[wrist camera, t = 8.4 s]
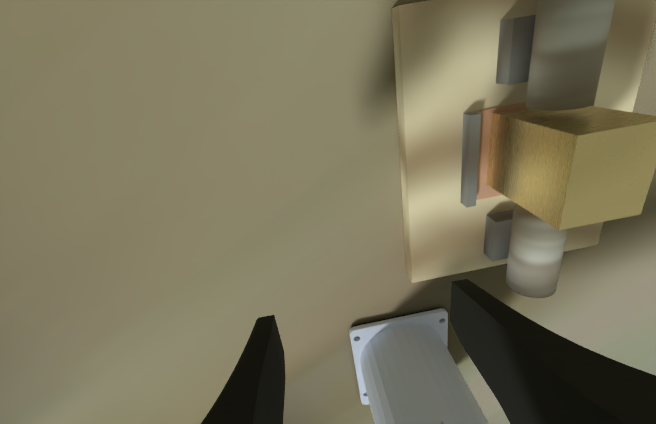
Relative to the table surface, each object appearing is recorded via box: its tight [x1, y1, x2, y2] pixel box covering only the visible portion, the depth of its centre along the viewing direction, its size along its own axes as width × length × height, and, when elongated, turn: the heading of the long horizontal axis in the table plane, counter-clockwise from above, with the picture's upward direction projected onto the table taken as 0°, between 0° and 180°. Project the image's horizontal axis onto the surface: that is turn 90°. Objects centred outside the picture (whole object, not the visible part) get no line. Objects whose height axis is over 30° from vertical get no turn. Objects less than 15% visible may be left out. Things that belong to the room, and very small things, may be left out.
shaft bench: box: [392, 0, 656, 298], centre depth 18 cm, size 17×14×5 cm
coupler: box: [486, 106, 656, 230], centre depth 17 cm, size 4×4×6 cm
